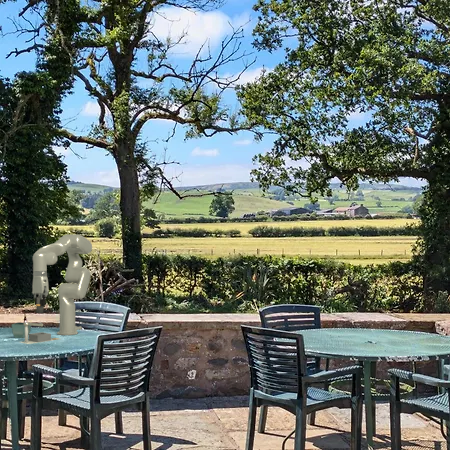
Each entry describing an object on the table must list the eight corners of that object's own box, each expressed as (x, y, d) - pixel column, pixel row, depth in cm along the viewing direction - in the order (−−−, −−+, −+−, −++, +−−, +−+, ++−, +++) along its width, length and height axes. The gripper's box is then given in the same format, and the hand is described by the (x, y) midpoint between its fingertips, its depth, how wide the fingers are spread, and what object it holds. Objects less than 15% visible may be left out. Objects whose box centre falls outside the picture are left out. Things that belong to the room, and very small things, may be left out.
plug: (40, 312, 409) (41, 296, 409) (45, 312, 406) (45, 297, 406) (34, 312, 406) (34, 297, 406) (38, 313, 403) (39, 297, 403)
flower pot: (24, 339, 413) (24, 324, 413) (11, 339, 415) (11, 324, 415) (31, 337, 422) (31, 322, 422) (18, 337, 424) (18, 322, 424)
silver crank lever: (22, 325, 398) (22, 321, 398) (26, 324, 401) (26, 321, 401) (40, 326, 393) (40, 323, 393) (44, 326, 396) (44, 322, 396)
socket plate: (43, 339, 414) (43, 322, 414) (53, 341, 407) (53, 323, 407) (18, 343, 401) (18, 325, 401) (28, 345, 394) (28, 326, 394)
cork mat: (55, 338, 416) (55, 337, 416) (61, 339, 412) (61, 338, 412) (48, 339, 412) (48, 338, 412) (54, 340, 409) (54, 339, 409)
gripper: (54, 274, 404) (54, 306, 403) (37, 273, 415) (37, 304, 415) (43, 275, 398) (43, 307, 398) (26, 273, 409) (26, 305, 409)
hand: (40, 305), depth 406 cm, fingers closed on plug, 4 cm apart
